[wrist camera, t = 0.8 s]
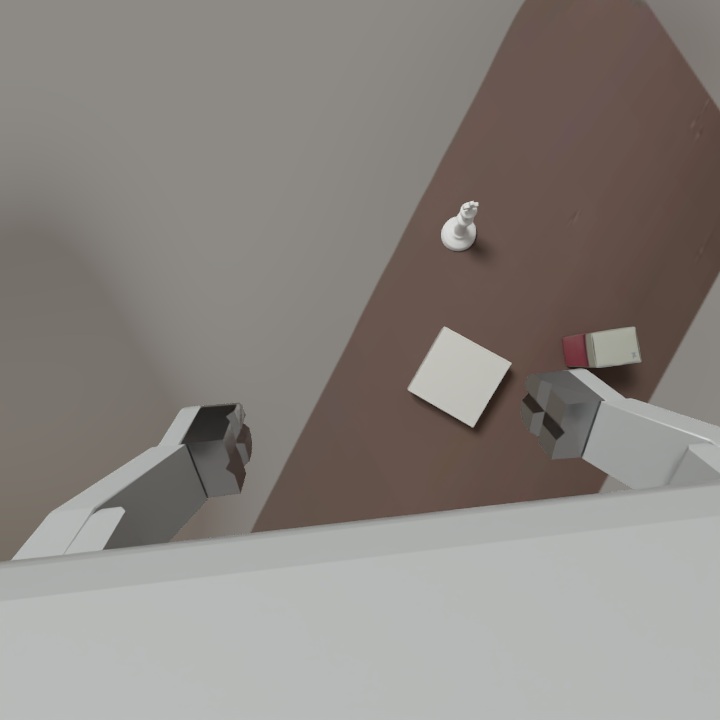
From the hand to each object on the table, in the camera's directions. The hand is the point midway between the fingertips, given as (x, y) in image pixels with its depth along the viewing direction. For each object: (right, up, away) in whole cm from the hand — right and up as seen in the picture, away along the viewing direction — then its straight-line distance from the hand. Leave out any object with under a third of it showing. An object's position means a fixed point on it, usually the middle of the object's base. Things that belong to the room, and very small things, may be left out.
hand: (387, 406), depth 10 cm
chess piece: (+14, +20, +40) cm, 47 cm away
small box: (+30, +3, +38) cm, 49 cm away
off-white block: (+13, -1, +41) cm, 43 cm away
